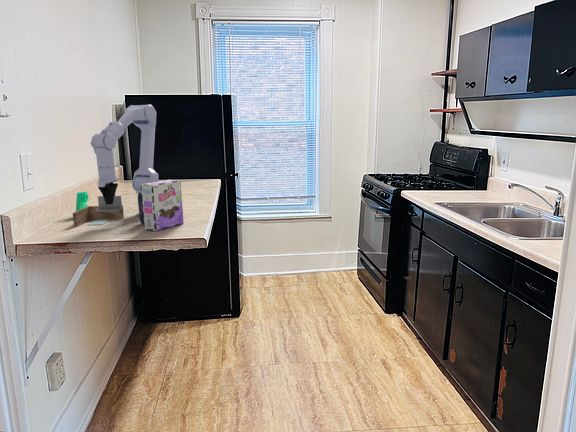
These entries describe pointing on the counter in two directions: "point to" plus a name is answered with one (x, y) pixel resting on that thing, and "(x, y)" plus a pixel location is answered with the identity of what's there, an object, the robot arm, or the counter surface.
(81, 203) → the camera mount
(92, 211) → the corner walls
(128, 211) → the counter surface
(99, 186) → the robot arm
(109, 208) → the bracket
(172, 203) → the candy box
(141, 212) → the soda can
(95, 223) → the pad
